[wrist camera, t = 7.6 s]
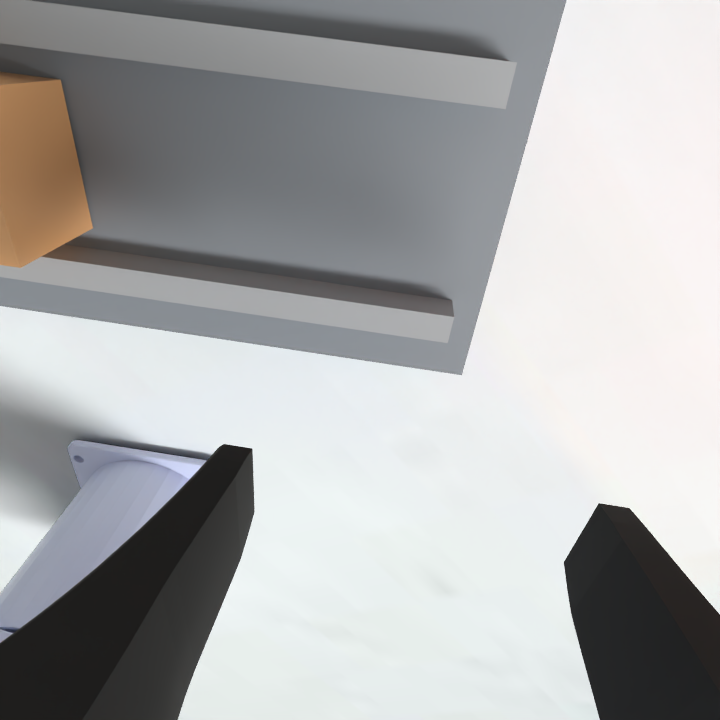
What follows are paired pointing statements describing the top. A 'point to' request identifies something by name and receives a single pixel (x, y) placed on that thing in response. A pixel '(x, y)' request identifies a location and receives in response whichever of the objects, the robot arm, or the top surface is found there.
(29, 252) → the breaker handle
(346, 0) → the rails
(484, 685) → the top surface
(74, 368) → the top surface
